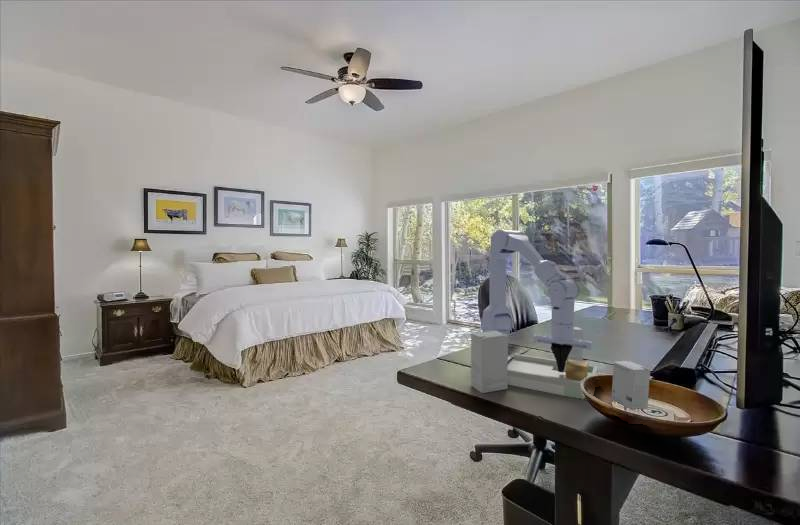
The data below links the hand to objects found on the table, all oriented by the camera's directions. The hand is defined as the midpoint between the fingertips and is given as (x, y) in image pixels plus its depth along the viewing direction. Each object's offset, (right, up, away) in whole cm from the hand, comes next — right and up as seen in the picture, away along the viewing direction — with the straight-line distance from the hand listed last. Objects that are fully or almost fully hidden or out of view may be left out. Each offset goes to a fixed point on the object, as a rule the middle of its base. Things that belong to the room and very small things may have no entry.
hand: (561, 371), depth 103 cm
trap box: (-3, -3, +2) cm, 5 cm away
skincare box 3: (+6, -4, -21) cm, 23 cm away
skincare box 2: (+11, -3, +18) cm, 22 cm away
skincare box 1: (-21, -4, -4) cm, 22 cm away
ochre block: (+3, -1, -2) cm, 4 cm away
